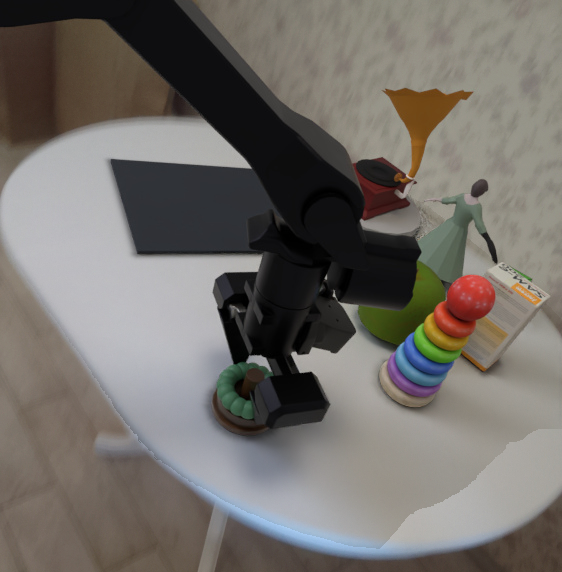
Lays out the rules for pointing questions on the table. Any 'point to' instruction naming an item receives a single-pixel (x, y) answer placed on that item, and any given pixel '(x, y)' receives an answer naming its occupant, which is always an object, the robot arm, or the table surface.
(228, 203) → the mat
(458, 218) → the character figurine
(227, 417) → the stand
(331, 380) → the table surface
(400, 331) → the apple
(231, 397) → the ring
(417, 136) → the gramophone
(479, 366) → the supplement box
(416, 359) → the stacking toy
